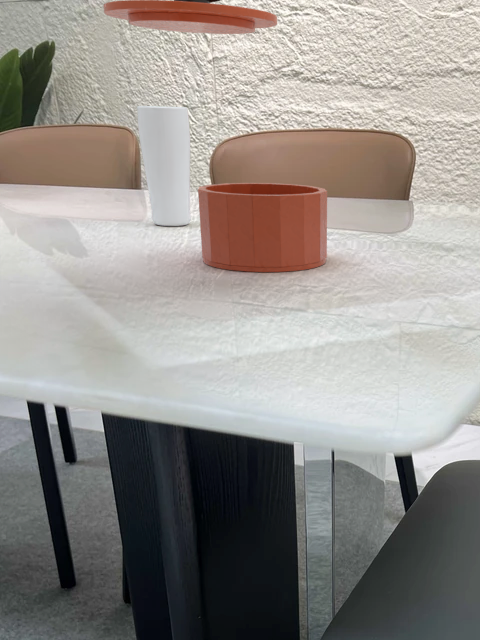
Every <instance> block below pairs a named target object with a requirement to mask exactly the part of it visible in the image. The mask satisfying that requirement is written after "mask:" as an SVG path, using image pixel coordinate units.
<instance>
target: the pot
mask: <svg viewBox="0 0 480 640" xmlns="http://www.w3.org/2000/svg"><path fill="white" fill-rule="evenodd" d="M197 195H198V197H197V198H198V210H199V226H200V228H199V229H200V240H201V241H200V242H201V257H202V261H203V263H204V264H206V265H207V266H209V267H212V268H216V269H222V270H227V271H228V270H229V271H236V272H248V273H284V272H285V273H286V272H297V271H304V270H311V269H315V268H318V267H319V268H320V267H321V266H323V265H325V264H326V262H327V261H326V260H327V258H328V190H326V188H324V187H320V186H319V187H318V186H314V185H303V184H295V183H277V182H275V183H274V182H231V183H230V182H226V183H218V184H217V183H216V184H215V183H213V184H206V185H201V186H198V188H197Z"/></svg>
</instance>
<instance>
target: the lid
mask: <svg viewBox="0 0 480 640" xmlns="http://www.w3.org/2000/svg"><path fill="white" fill-rule="evenodd" d="M102 7H103V13H104V15H106V16H107V17H111V18H115V19H120V20H124V21H128V24H129V25H131V26H134V27H138V28H143V29H144V28H145V29H149V30H150V29H151V30H157V31H158V30H159V31H167V32H180V33H191V34H211V35H212V34H213V35H242V34H243V35H244V34H245V35H246V34H252V33H255V32H256V29H267V28H272V27H273V28H274V27H276V26H277V25H278V16H277V15H276V14H274V13H272V12H269V11H265V10H261V9H256V8H250V7H244V6H237V5H229V4H221V3H209V0H114V1H108V2H105V3H104V4H103V6H102Z"/></svg>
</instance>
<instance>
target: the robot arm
mask: <svg viewBox="0 0 480 640" xmlns="http://www.w3.org/2000/svg"><path fill="white" fill-rule="evenodd" d="M221 1H222V0H209V3H211V4H213V3H217V2H221Z"/></svg>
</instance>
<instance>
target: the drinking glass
mask: <svg viewBox="0 0 480 640" xmlns="http://www.w3.org/2000/svg"><path fill="white" fill-rule="evenodd" d="M136 112H137V113H136V115H137V129H138V138H139V145H140V151H141V158H142V163H143V167H144V174H145V180H146V185H147V191H148V197H149V203H150V210H151V212H150V213H151V221H152V222H153V224H155V225H157V226H161V227H183V226H186V225H189V224H190V223H191V221H192V216H191V128H190V127H191V126H190V116H189V109H188V107H186V106H158V105H137V106H136Z"/></svg>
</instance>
